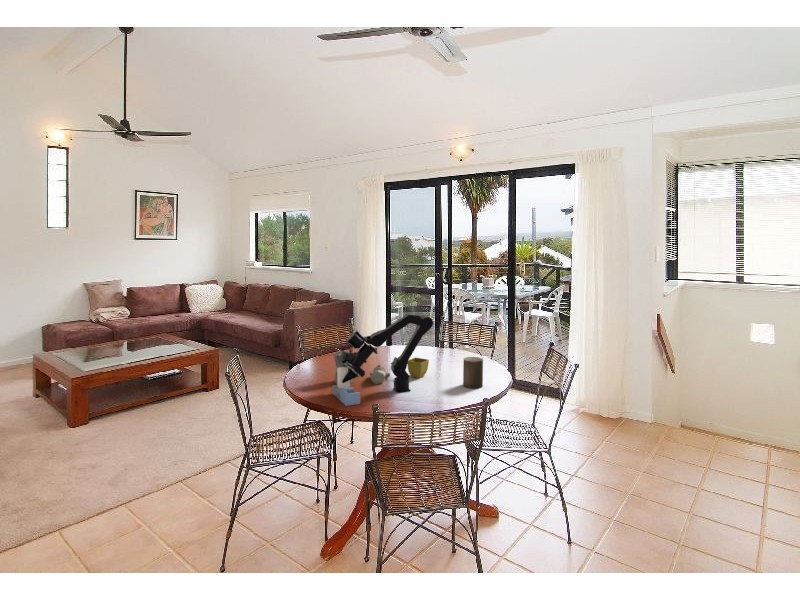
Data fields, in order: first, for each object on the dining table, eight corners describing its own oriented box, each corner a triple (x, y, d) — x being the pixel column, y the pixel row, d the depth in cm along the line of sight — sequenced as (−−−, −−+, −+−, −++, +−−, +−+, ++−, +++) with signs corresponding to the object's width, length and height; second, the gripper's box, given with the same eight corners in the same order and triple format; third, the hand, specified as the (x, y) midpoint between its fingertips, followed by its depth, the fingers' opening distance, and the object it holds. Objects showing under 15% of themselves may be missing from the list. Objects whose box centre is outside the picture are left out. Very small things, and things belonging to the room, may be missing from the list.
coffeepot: (345, 386, 242) (345, 351, 239) (328, 384, 245) (328, 349, 243) (359, 378, 256) (358, 344, 253) (343, 376, 259) (342, 343, 257)
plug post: (346, 392, 231) (346, 366, 229) (350, 395, 227) (349, 369, 225) (337, 393, 229) (337, 367, 227) (340, 396, 225) (340, 370, 223)
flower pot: (429, 375, 260) (429, 359, 259) (421, 379, 253) (421, 363, 252) (415, 373, 265) (415, 357, 264) (406, 377, 258) (406, 360, 256)
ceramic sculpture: (366, 367, 244) (370, 361, 259) (366, 384, 244) (370, 377, 259) (388, 368, 243) (390, 362, 258) (387, 385, 243) (390, 378, 258)
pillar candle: (482, 389, 237) (483, 359, 235) (462, 388, 239) (462, 358, 237) (482, 383, 247) (483, 354, 245) (463, 382, 249) (464, 353, 247)
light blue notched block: (353, 397, 225) (353, 385, 224) (360, 403, 217) (360, 390, 216) (339, 399, 222) (339, 387, 221) (345, 405, 214) (345, 392, 213)
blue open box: (345, 391, 234) (345, 383, 233) (354, 398, 224) (354, 390, 223) (332, 393, 231) (332, 385, 230) (340, 400, 221) (340, 392, 220)
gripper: (344, 340, 235) (322, 365, 231) (358, 348, 218) (335, 375, 215) (359, 354, 239) (338, 379, 236) (374, 363, 222) (352, 390, 219)
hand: (340, 381), depth 226 cm, fingers closed on plug post, 4 cm apart
